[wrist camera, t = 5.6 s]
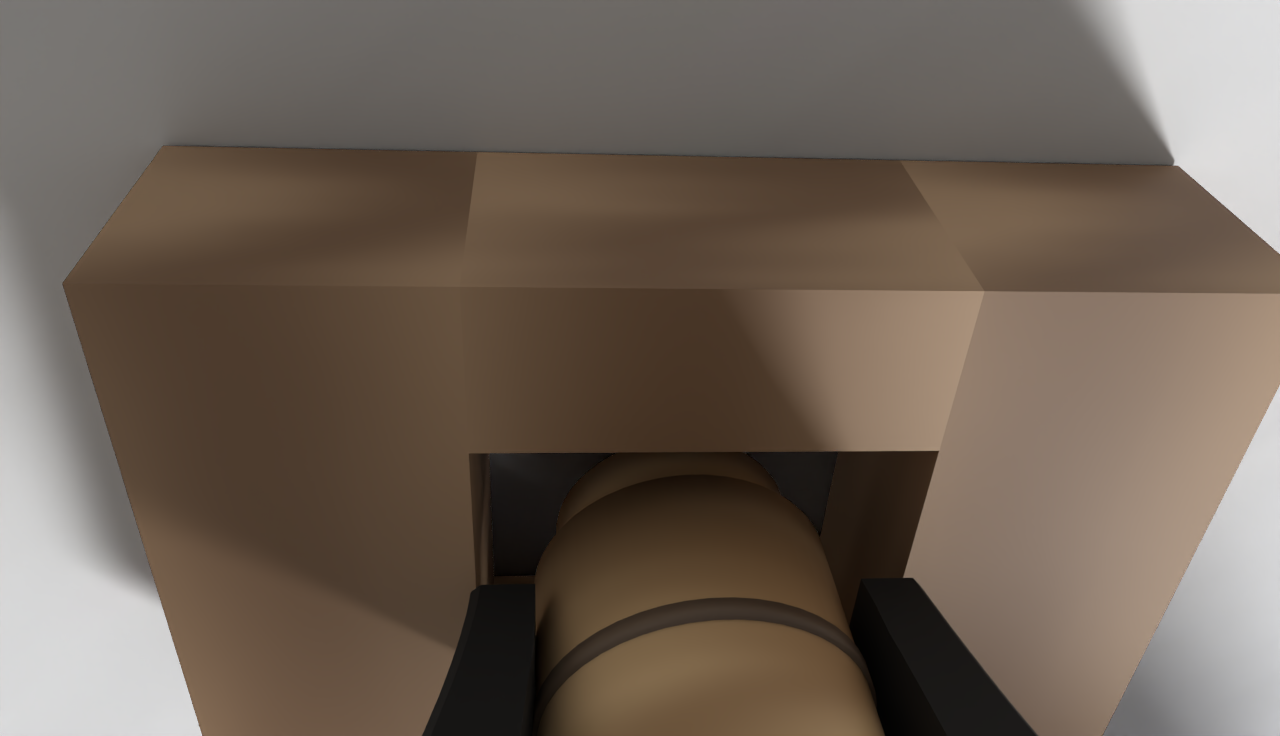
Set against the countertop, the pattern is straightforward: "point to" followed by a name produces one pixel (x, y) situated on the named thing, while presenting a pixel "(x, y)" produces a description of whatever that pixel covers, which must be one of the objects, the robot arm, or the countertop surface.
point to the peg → (692, 609)
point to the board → (663, 391)
